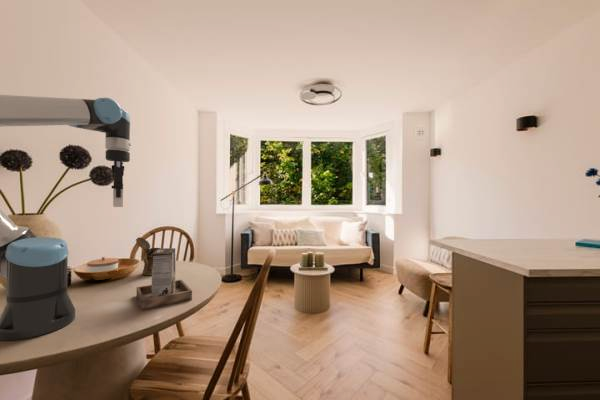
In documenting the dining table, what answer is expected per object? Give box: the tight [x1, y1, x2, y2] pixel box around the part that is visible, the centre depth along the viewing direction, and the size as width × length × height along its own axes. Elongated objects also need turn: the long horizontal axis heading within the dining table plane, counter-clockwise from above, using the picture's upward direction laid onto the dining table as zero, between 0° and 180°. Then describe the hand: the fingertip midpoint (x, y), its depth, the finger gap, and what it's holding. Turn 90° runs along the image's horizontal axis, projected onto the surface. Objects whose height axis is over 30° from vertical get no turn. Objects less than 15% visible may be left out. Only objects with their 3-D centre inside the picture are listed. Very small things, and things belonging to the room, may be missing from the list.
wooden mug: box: [135, 237, 162, 277], centre depth 117 cm, size 9×14×18 cm, turn 169°
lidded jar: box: [86, 256, 119, 273], centre depth 110 cm, size 11×11×9 cm
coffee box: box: [151, 247, 176, 298], centre depth 90 cm, size 9×6×16 cm
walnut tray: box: [136, 279, 193, 311], centre depth 90 cm, size 15×15×3 cm
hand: (117, 206), depth 98 cm, fingers open, 13 cm apart
